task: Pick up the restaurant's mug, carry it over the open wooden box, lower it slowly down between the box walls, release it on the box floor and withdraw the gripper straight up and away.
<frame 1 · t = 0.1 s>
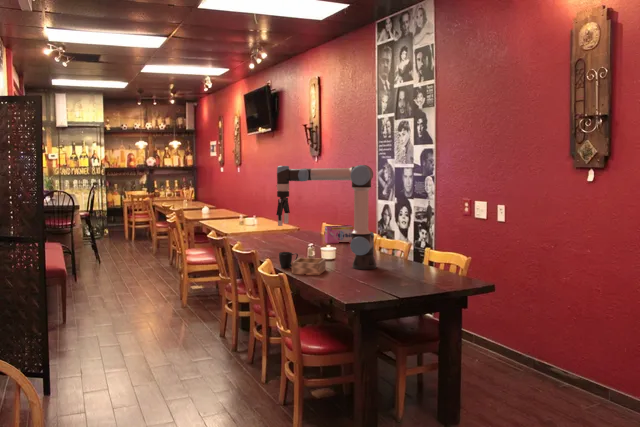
hand: (283, 224, 368), 28 cm above the table, fingers open, 13 cm apart
gum box: (339, 242, 485), on the table
mug: (288, 267, 374), on the table
open wooden box: (308, 271, 359), on the table
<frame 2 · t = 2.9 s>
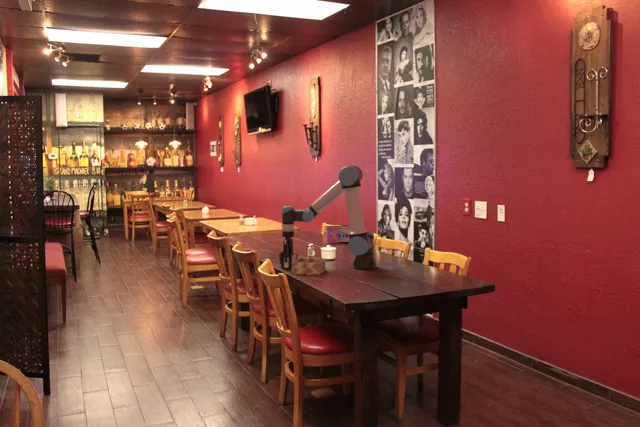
hand: (288, 266, 373), 1 cm above the table, fingers closed on mug, 8 cm apart
mug: (288, 267, 374), on the table, touching gripper
everything else where it was.
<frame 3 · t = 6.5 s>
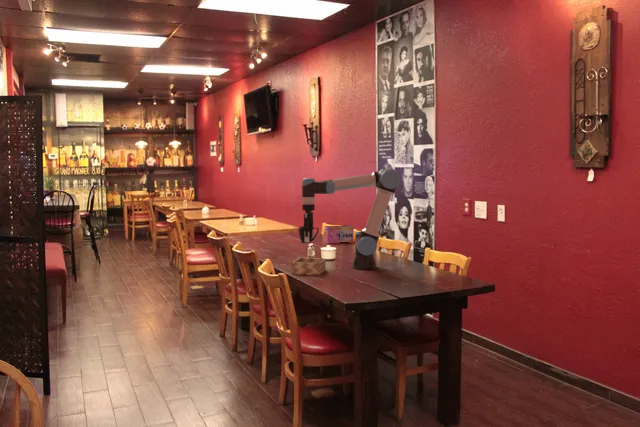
hand: (308, 241, 358), 19 cm above the table, fingers closed on mug, 8 cm apart
mug: (309, 242, 358), point 18 cm above the table, touching gripper
everything else where it was.
when the fingers open (4 cm above the table, at t = 10.0 s): mug drops 2 cm, resting on open wooden box.
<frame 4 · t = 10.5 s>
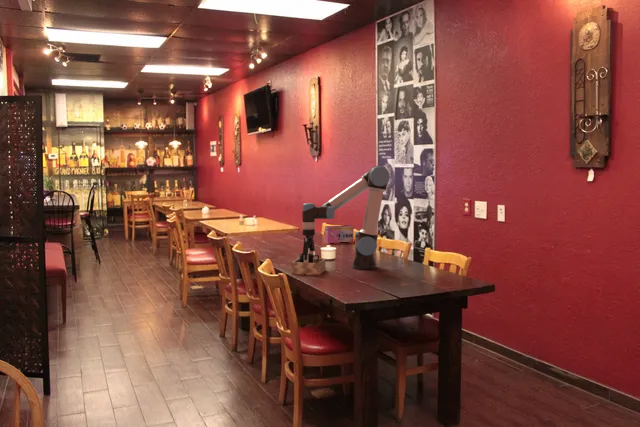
hand: (308, 263, 359), 5 cm above the table, fingers open, 13 cm apart
mug: (309, 270, 360), point 1 cm above the table, touching open wooden box
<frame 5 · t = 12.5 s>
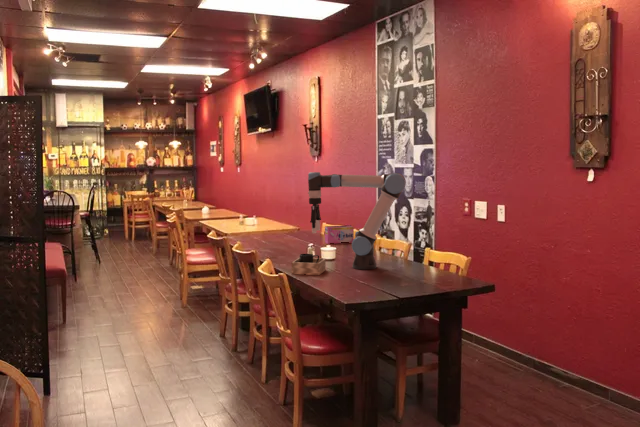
hand: (316, 231, 363), 24 cm above the table, fingers open, 13 cm apart
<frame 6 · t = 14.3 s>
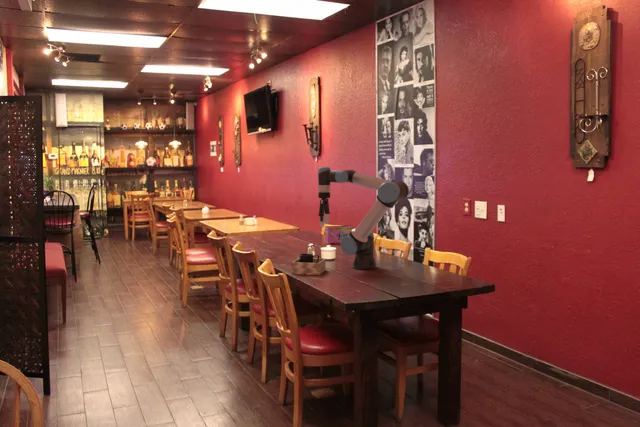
hand: (324, 225, 372), 27 cm above the table, fingers open, 13 cm apart
at the end: mug inside the target area on the open wooden box (0.9 cm from its centre), point 0.8 cm above the open wooden box's base; mug tilted 0°; the gripper is holding nothing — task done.
